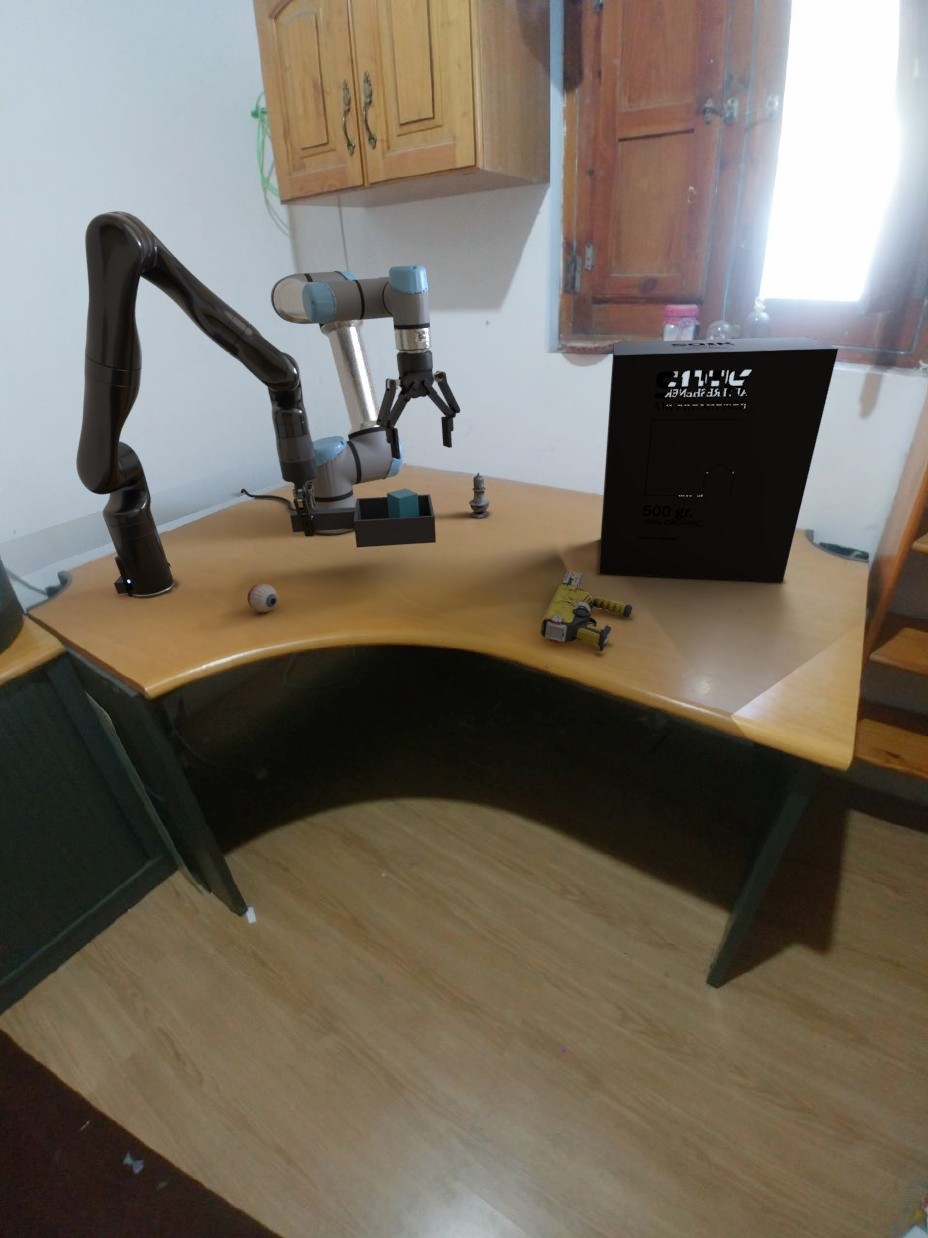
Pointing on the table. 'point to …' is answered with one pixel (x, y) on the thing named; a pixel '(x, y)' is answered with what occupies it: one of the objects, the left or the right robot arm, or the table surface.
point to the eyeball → (262, 597)
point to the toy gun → (578, 614)
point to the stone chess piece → (479, 498)
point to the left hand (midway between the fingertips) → (310, 532)
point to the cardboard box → (710, 455)
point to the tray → (375, 522)
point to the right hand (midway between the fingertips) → (422, 452)
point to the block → (402, 504)
